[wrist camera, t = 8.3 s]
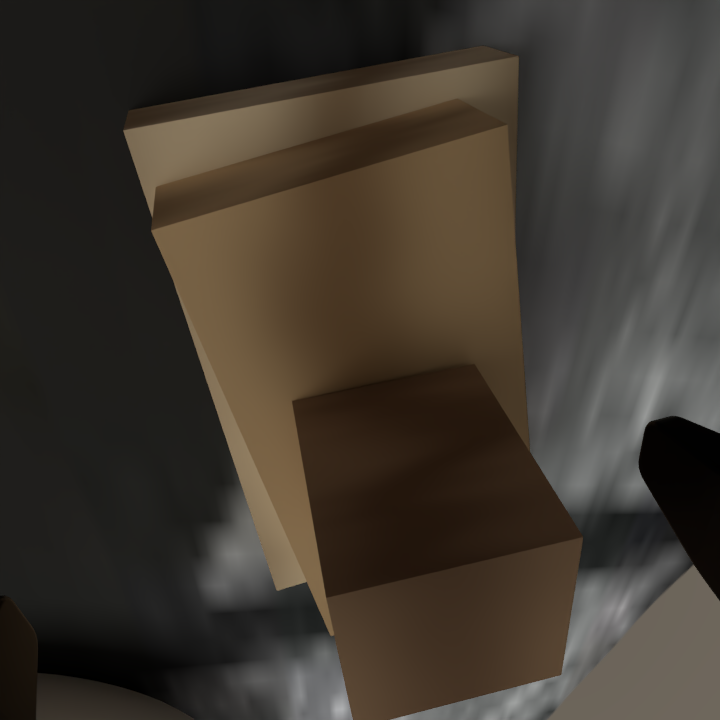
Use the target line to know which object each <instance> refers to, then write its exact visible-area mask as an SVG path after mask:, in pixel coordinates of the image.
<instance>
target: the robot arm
mask: <svg viewBox="0 0 720 720" xmlns="http://www.w3.org/2000/svg"><path fill="white" fill-rule="evenodd" d="M639 470H640V473H641V476H642V478H643V480H644V481H645V483H646V485H647V486H648V488H649V490H650V492H651V493H652V495H653V497H654V498H655V500H656V502H657V504H658V505H659V507H660V509H661V510H662V512H663V514H664V515H665V517H666V519H667V521H668V522H669V524H670V526H671V527H672V529H673V531H674V532H675V534H676V536H677V538H678V539H679V541H680V543H681V544H682V546H683V548H684V549H685V551H686V553H687V554H688V556H689V558H690V559H691V561H692V562H693V564H694V566H695V567H696V568H697V570H698V571H699V573H700V574H701V576H702V577H703V579H704V580H705V581H706V583H707V584H708V585H709V587H710V588H711V590H712V591H713V592H714V594H715V595H716V596H717V598H718V599H719V600H720V433H718V432H715V431H713V430H710V429H708V428H705V427H703V426H701V425H698V424H696V423H693V422H691V421H689V420H686V419H684V418H681V417H678V416H669V417H665V418H661V419H658V420H654V421H651V422H649V423H648V424H647V426H646V427H645V431H644V436H643V441H642V446H641V451H640V456H639ZM37 669H38V641H37V636H36V633H35V631H34V629H33V627H32V626H31V625H30V623H29V622H28V620H27V619H26V618H25V616H24V615H23V614H22V612H21V611H20V610H19V608H18V607H17V606H16V604H15V603H14V601H13V600H12V599H11V598H9V597H7V596H5V595H4V596H0V720H36V703H37Z"/></svg>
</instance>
